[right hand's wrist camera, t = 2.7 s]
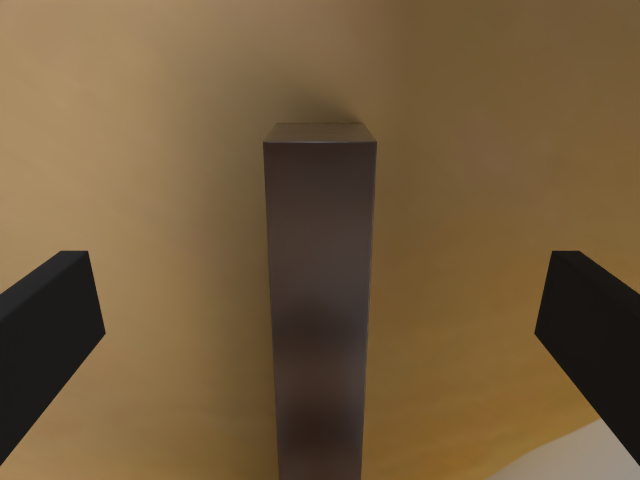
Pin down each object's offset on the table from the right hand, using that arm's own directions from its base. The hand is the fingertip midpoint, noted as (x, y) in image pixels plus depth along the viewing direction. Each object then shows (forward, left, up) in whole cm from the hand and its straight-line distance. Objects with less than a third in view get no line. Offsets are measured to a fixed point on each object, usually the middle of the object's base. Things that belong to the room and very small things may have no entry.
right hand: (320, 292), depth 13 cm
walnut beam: (0, -14, -15) cm, 20 cm away
